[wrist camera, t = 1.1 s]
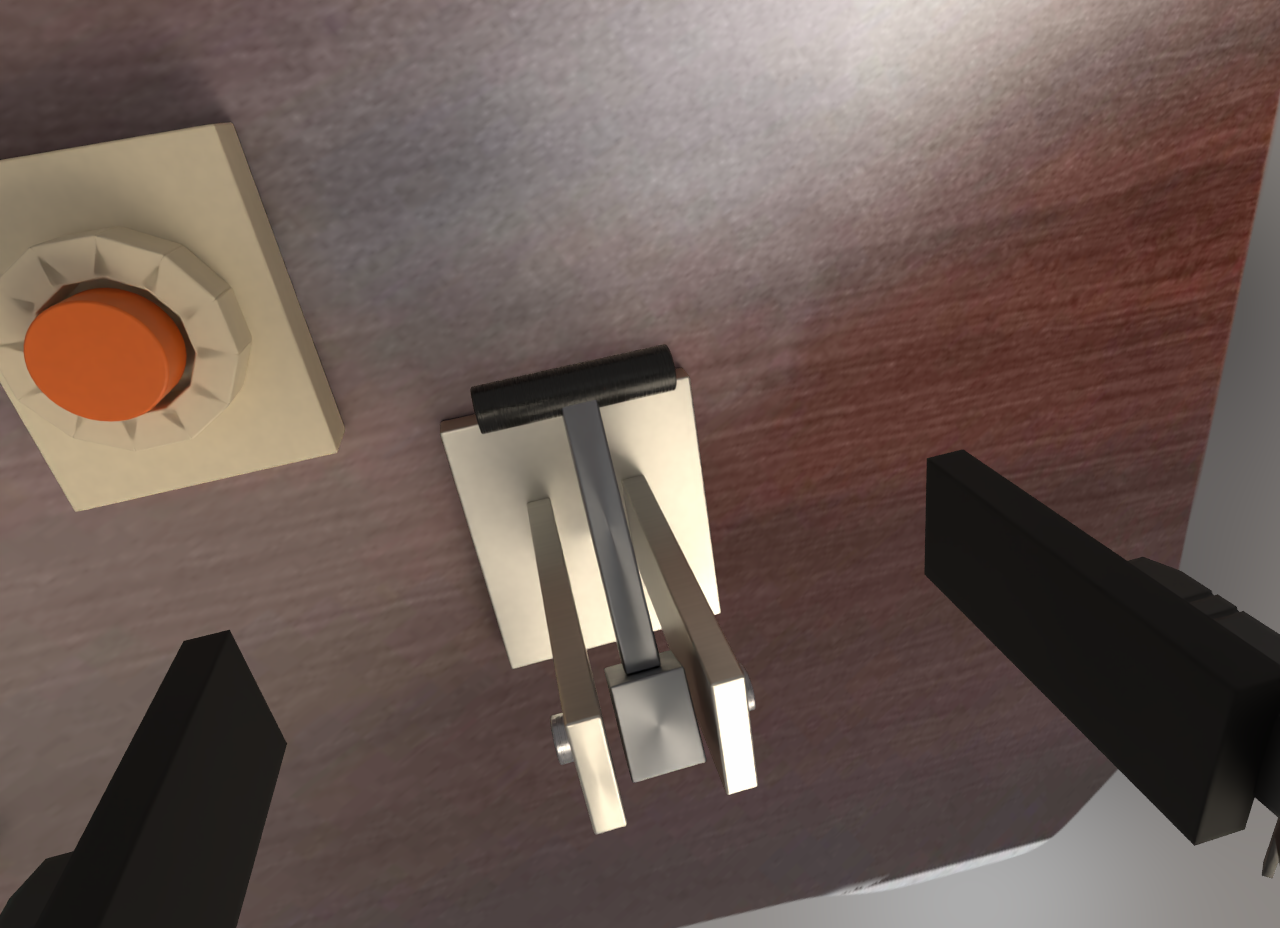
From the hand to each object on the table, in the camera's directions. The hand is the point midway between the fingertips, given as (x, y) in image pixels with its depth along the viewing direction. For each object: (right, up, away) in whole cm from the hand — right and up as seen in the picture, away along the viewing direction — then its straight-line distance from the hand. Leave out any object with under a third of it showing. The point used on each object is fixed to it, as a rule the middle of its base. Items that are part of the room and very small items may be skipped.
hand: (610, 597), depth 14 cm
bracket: (-2, 0, +19) cm, 19 cm away
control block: (-16, +8, +12) cm, 21 cm away
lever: (0, 0, +10) cm, 10 cm away
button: (-15, +6, +9) cm, 19 cm away
